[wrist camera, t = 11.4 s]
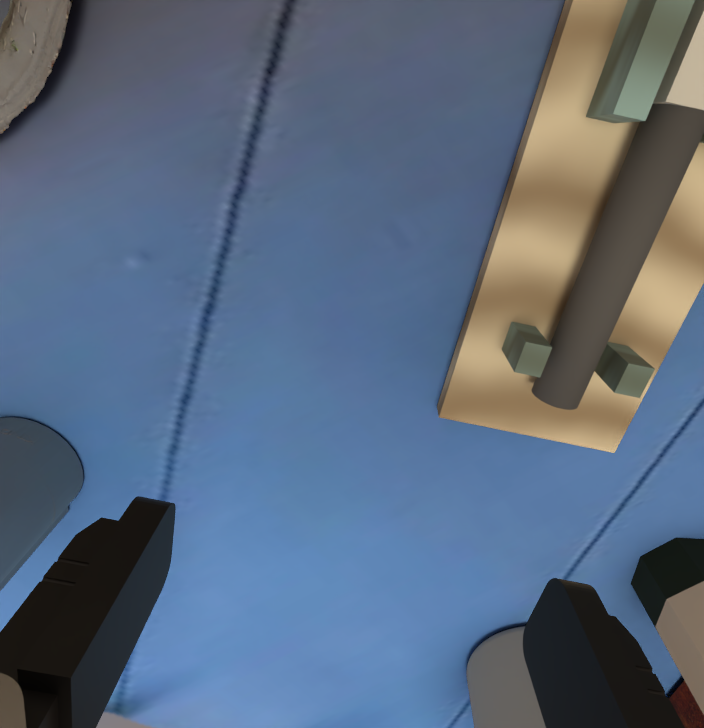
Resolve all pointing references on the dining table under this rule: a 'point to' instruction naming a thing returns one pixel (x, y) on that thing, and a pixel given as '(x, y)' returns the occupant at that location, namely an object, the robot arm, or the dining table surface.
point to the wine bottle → (677, 604)
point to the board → (579, 234)
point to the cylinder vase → (502, 684)
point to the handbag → (687, 707)
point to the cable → (629, 221)
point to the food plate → (28, 51)
